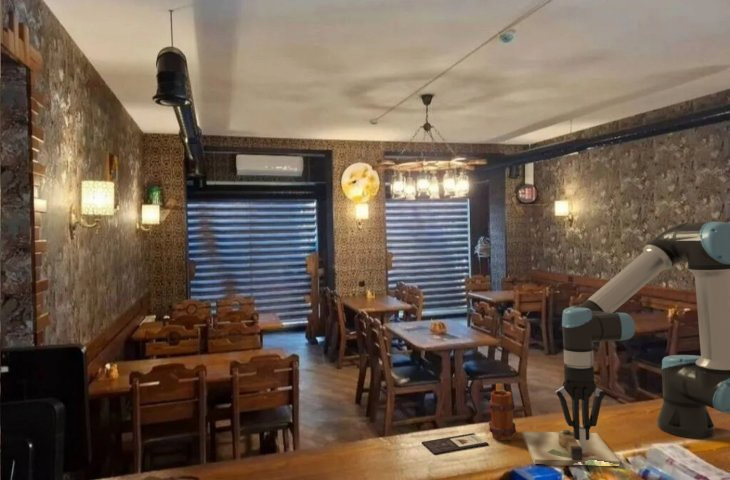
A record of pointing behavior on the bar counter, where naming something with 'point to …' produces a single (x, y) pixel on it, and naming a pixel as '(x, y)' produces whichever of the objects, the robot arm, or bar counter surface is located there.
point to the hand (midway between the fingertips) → (582, 451)
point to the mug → (502, 414)
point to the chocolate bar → (454, 443)
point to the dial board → (564, 449)
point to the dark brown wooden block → (570, 444)
